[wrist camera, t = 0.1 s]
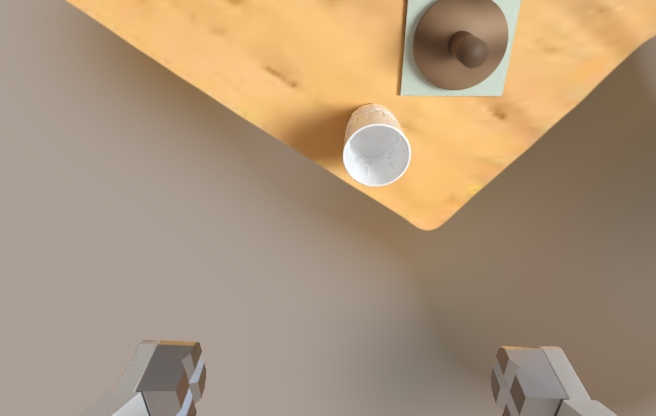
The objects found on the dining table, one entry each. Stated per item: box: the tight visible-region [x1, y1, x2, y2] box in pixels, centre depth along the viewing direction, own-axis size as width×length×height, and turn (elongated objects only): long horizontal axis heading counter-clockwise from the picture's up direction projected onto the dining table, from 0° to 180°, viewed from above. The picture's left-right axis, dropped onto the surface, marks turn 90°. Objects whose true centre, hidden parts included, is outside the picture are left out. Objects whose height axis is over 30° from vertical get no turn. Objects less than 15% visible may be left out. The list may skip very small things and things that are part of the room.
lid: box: [413, 0, 508, 90], centre depth 49 cm, size 11×11×7 cm
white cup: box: [343, 103, 411, 187], centre depth 54 cm, size 8×8×10 cm
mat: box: [400, 0, 521, 96], centre depth 52 cm, size 13×13×1 cm
